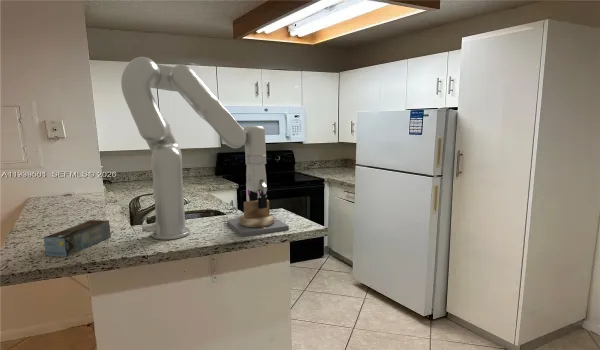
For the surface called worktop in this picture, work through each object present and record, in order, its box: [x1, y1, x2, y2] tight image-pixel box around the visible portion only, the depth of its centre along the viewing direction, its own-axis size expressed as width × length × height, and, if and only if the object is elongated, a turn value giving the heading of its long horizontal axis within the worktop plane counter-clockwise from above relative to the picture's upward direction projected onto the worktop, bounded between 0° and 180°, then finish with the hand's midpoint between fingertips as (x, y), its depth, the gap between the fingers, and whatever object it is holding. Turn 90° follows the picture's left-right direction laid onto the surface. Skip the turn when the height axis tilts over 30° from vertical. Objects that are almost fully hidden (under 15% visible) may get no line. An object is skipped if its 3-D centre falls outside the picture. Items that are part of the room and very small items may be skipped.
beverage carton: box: [43, 219, 112, 258], centre depth 115 cm, size 8×19×7 cm, turn 169°
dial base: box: [226, 216, 290, 238], centre depth 135 cm, size 18×18×2 cm
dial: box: [238, 199, 275, 227], centre depth 134 cm, size 13×13×8 cm
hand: (258, 205), depth 134 cm, fingers open, 9 cm apart
